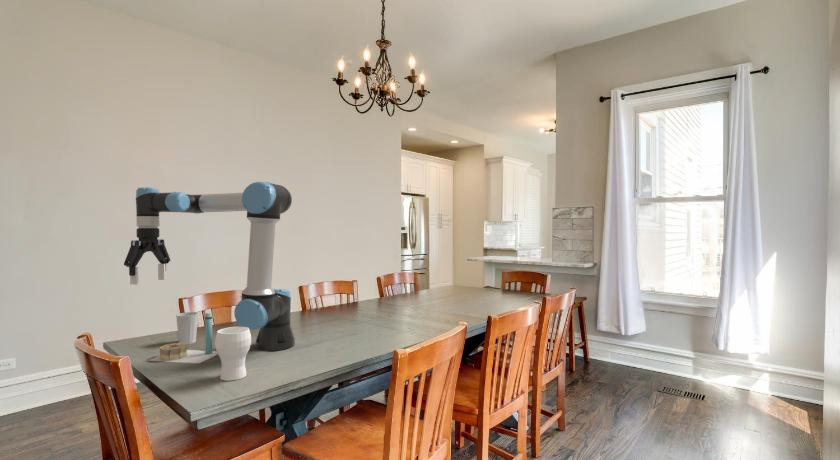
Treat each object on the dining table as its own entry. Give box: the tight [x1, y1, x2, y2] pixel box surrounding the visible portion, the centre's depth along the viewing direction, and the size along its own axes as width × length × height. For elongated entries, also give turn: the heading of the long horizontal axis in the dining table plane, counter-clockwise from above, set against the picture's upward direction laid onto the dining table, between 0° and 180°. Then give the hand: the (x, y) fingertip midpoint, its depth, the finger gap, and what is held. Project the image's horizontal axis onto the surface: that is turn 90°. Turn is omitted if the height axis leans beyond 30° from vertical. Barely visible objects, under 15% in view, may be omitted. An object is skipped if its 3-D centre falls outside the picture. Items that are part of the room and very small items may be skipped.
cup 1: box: [175, 311, 199, 345], centre depth 175 cm, size 8×8×12 cm
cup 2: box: [214, 326, 252, 382], centre depth 136 cm, size 11×11×15 cm
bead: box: [159, 342, 188, 361], centre depth 155 cm, size 8×8×4 cm
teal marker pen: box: [204, 312, 213, 354], centre depth 160 cm, size 2×2×15 cm
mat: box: [148, 349, 219, 364], centre depth 157 cm, size 20×14×1 cm
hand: (148, 282), depth 165 cm, fingers open, 13 cm apart
